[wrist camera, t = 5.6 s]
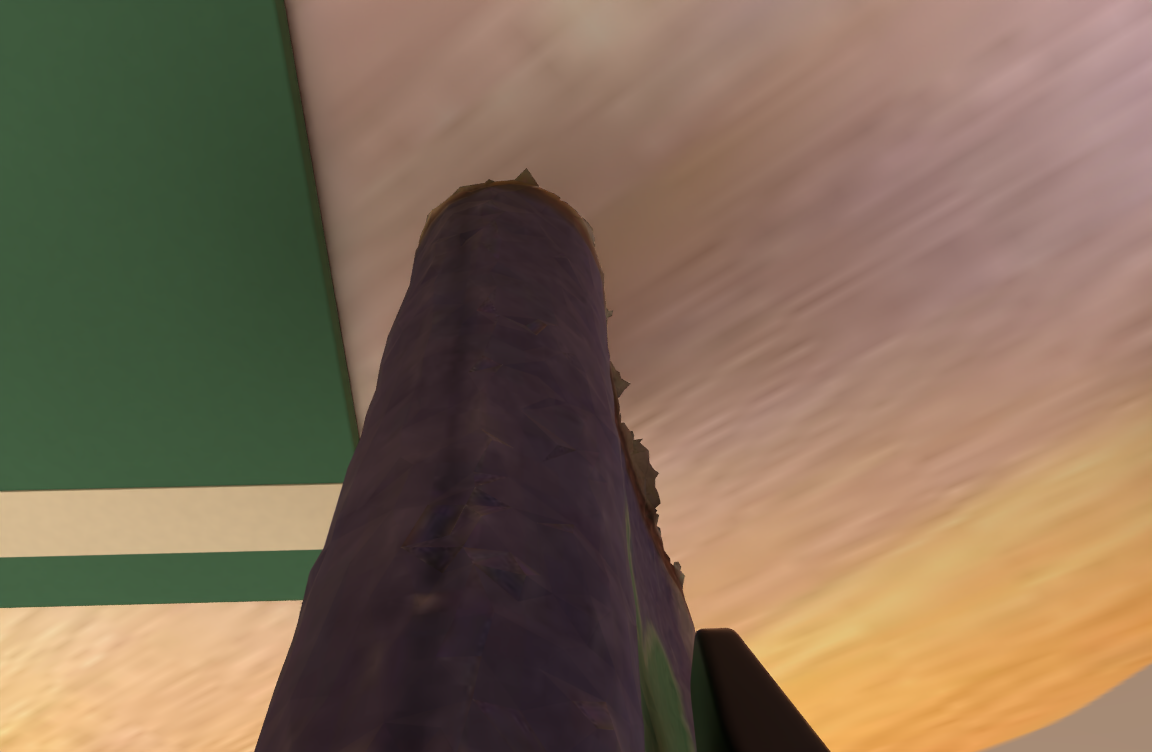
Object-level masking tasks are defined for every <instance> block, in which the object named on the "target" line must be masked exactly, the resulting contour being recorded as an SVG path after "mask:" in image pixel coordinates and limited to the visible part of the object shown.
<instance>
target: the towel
mask: <svg viewBox="0 0 1152 752" xmlns="http://www.w3.org/2000/svg"><path fill="white" fill-rule="evenodd" d="M358 442H359V435H358V429H357V423H356V418H355V412H354V406H353V400H352V394H351V389H350V383H349V377H348V371H347V365H346V359H345V354H344V348H343V342H342V336H341V330H340V325H339V319H338V313H337V307H336V301H335V295H334V290H333V284H332V278H331V272H330V266H329V261H328V255H327V249H326V243H325V237H324V231H323V226H322V220H321V214H320V208H319V202H318V197H317V191H316V185H315V179H314V173H313V168H312V162H311V156H310V150H309V144H308V138H307V133H306V127H305V121H304V115H303V109H302V104H301V98H300V92H299V86H298V80H297V74H296V69H295V63H294V57H293V51H292V45H291V40H290V34H289V28H288V22H287V16H286V10H285V5H284V0H0V608H16V607H55V606H93V605H132V604H171V603H209V602H248V601H286V600H303V598H304V594H305V589H306V585H307V581H308V577H309V572H310V570H311V568H312V567H313V565H314V563H315V562H316V560H317V558H318V557H319V555H320V553H321V552H322V550H323V548H324V545H325V542H326V538H327V535H328V532H329V528H330V525H331V522H332V518H333V515H334V512H335V508H336V505H337V502H338V498H339V495H340V492H341V488H342V485H343V482H344V478H345V475H346V472H347V468H348V466H349V463H350V461H351V459H352V456H353V454H354V452H355V449H356V447H357V445H358Z"/></svg>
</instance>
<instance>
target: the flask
mask: <svg viewBox="0 0 1152 752" xmlns="http://www.w3.org/2000/svg"><path fill="white" fill-rule="evenodd" d="M594 241H595V239H594V234H593V230H592V228H591V226H590V225H589V223H588V222H587V221H586V220H585V219H583V218H582V217H581V216H580V215H579V213H578V212H577V211H576V210H575V209H573V208H572V207H571V206H569V205H568V204H567V203H566V202H564V201H561V200H560V197H558V196H557V195H555V194H554V193H551V192H549V191H547V190H544V189H542V188H540V187H539V186H538V184H537V183H536V181H535V180H534V178H533V177H532V175H531V174H530V172H529V171H528V170H527V168H526V169H525V170H524V171H523V172H522V173H521V174H520V175H519V176H518V177H517V178H516V179H515V180H508V181H496V182H494V181H492V180H490V179H489V180H488V181H486V182H485V183H481V184H475V185H469V186H463V187H460V188H459V189H458V190H457V191H456V192H455V193H453V194H452V195H451V196H450V197H449V198H448V199H447V200H446V201H444V202H443V203H442V204H440V205H439V206H437V207H436V208H435V209H432V211H431V212H430V213H429V215H428V216H427V220H426V224H425V227H424V229H423V231H422V234H421V236H420V240H419V245H418V248H417V250H416V253H415V258H414V264H413V269H412V275H411V281H410V285H409V288H408V290H407V293H406V295H405V297H404V300H403V302H402V305H401V307H400V309H399V312H398V314H397V316H396V319H395V321H394V323H393V326H392V328H391V331H390V333H389V335H388V338H387V342H386V346H385V349H384V353H383V357H382V360H381V364H380V370H379V375H378V381H377V386H376V391H375V393H374V396H373V398H372V401H371V404H370V406H369V409H368V411H367V414H366V418H365V422H364V426H363V431H362V435H361V438H360V440H359V442H358V445H357V447H356V449H355V452H354V454H353V456H352V459H351V461H350V463H349V466H348V468H347V472H346V475H345V478H344V482H343V485H342V488H341V492H340V495H339V498H338V502H337V505H336V508H335V512H334V515H333V518H332V522H331V525H330V528H329V532H328V535H327V538H326V542H325V545H324V548H323V550H322V552H321V553H320V555H319V557H318V558H317V560H316V562H315V563H314V565H313V567H312V568H311V570H310V572H309V577H308V581H307V585H306V589H305V594H304V598H303V602H302V607H301V611H300V615H299V619H298V624H297V627H296V630H295V634H294V637H293V640H292V643H291V646H290V648H289V651H288V654H287V657H286V659H285V662H284V665H283V667H282V670H281V673H280V676H279V678H278V681H277V684H276V687H275V690H274V693H273V696H272V699H271V702H270V705H269V708H268V711H267V714H266V717H265V720H264V723H263V727H262V730H261V733H260V736H259V739H258V742H257V745H256V748H255V751H254V752H697V748H696V739H695V730H694V721H693V712H692V704H691V691H690V679H691V668H692V658H693V647H694V638H695V634H696V632H695V628H694V624H693V621H692V618H691V615H690V613H689V610H688V607H687V604H686V601H685V598H684V594H683V590H682V589H683V582H684V576H685V575H684V574H683V573H682V572H681V571H680V569H681V566H680V564H679V562H674V566H673V565H672V564H671V563H670V558H669V557H668V555H667V554H666V552H665V551H664V548H663V542H662V538H661V531H660V528H659V527H657V526H656V525H657V521H658V517H659V515H658V514H656V511H657V510H656V509H655V508H656V507H657V506H658V505H659V504H660V499H659V495H658V492H657V490H656V488H655V478H656V477H657V475H658V474H659V473H658V472H657V471H655V470H654V469H653V468H652V466H651V464H650V462H649V451H648V450H647V449H646V448H645V447H644V446H643V445H642V444H641V443H640V442H641V440H642V439H638V440H633V439H634V434H633V431H629V429H628V428H627V426H626V425H625V423H621V413H620V415H619V412H620V406H619V400H618V398H619V397H620V396H621V394H622V392H623V391H624V390H625V389H626V388H627V387H628V386H629V385H630V383H628V382H626V381H625V380H623V379H621V376H620V373H619V372H618V371H616V369H615V368H614V366H613V365H612V363H611V361H610V355H609V350H608V342H607V318H608V317H610V316H612V313H613V311H608V309H607V308H606V301H605V292H604V273H603V271H602V269H601V267H600V263H599V260H598V257H597V254H596V251H595V248H594V247H595V244H594Z"/></svg>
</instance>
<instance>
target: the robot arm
mask: <svg viewBox="0 0 1152 752" xmlns="http://www.w3.org/2000/svg"><path fill="white" fill-rule="evenodd" d="M690 691H691V704H692V712H693V721H694V730H695V739H696V748H697V752H830V751H829V749H828V748H827V747H826V745H825V744H824V743H823V742H822V740H821V739H820V738H819V737H818V735H817V734H816V733H815V731H814V730H813V729H812V728H811V726H810V725H809V724H808V723H807V721H806V720H805V719H804V718H803V716H802V715H801V714H800V712H799V711H798V710H797V709H796V707H795V706H794V705H793V704H792V702H791V701H790V700H789V698H788V697H787V696H786V695H785V693H784V692H783V691H782V690H781V688H780V687H779V686H778V684H777V683H776V682H775V681H774V679H773V678H772V677H771V676H770V674H769V673H768V672H767V671H766V669H765V668H764V667H763V665H762V664H761V663H760V662H759V660H758V659H757V658H756V657H755V655H754V654H753V653H752V651H751V650H750V649H749V648H748V646H747V645H746V644H745V643H744V641H743V640H742V639H741V637H740V636H739V635H738V634H737V633H736V632H735V631H734V630H732V629H730V628H709V629H700V630H698V631H697V632H696V634H695V638H694V647H693V658H692V668H691V679H690Z"/></svg>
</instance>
